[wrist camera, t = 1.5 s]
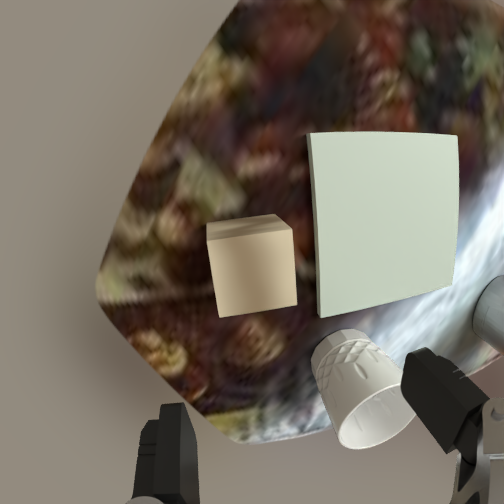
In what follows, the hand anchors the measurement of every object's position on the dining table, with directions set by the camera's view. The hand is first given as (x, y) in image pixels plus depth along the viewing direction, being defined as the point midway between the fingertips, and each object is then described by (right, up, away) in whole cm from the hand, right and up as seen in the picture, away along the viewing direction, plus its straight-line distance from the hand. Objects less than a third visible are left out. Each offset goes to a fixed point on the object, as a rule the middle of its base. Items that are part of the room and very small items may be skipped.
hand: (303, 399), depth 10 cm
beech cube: (-2, +5, +16) cm, 17 cm away
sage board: (+11, +8, +17) cm, 22 cm away
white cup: (+7, -6, +21) cm, 23 cm away
